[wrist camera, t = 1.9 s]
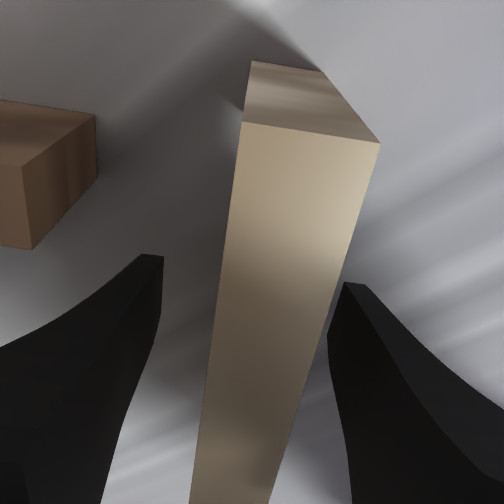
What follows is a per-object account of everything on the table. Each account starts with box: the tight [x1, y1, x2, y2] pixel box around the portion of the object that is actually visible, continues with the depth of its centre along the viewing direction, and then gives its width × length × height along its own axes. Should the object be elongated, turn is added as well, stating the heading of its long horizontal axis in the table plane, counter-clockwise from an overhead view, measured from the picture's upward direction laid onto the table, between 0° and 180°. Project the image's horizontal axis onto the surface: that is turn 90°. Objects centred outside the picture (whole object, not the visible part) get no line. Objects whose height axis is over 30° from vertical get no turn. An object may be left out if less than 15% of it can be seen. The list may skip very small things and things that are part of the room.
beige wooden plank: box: [189, 60, 381, 504], centre depth 11 cm, size 2×12×6 cm, turn 171°
